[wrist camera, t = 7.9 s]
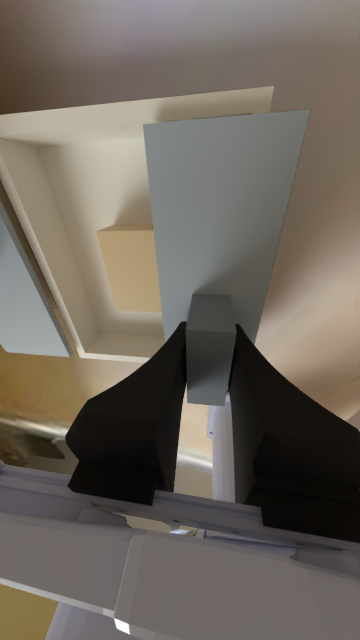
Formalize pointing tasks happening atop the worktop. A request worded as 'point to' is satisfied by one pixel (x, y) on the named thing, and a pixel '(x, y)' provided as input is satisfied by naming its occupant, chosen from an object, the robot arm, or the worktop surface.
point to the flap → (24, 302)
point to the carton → (100, 210)
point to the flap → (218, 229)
